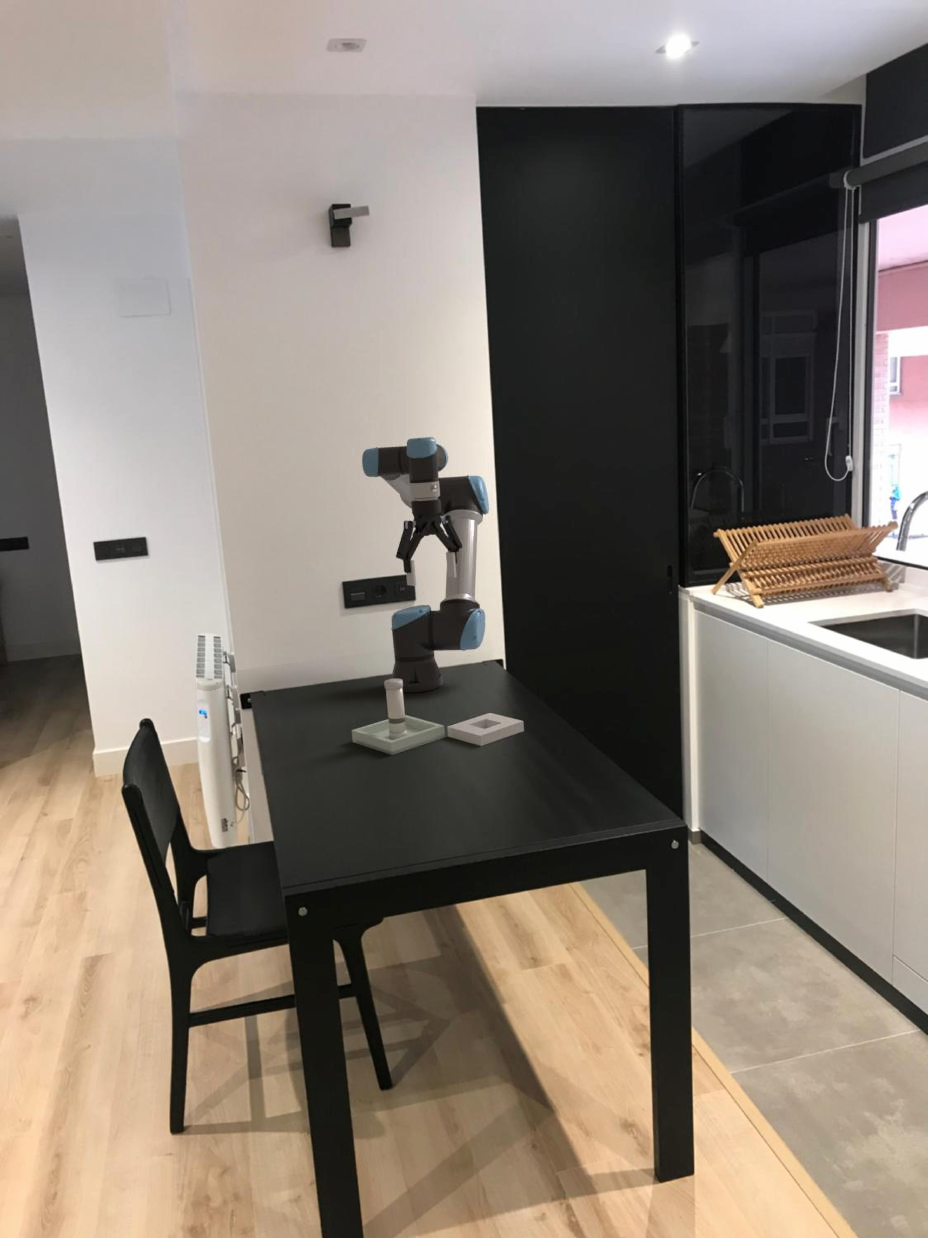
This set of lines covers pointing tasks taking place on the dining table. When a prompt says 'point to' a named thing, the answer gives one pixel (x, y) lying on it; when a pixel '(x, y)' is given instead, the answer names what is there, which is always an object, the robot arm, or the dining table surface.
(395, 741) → the parts tray
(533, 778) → the dining table surface
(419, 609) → the robot arm
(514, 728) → the socket block
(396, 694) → the fuse
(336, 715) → the dining table surface
